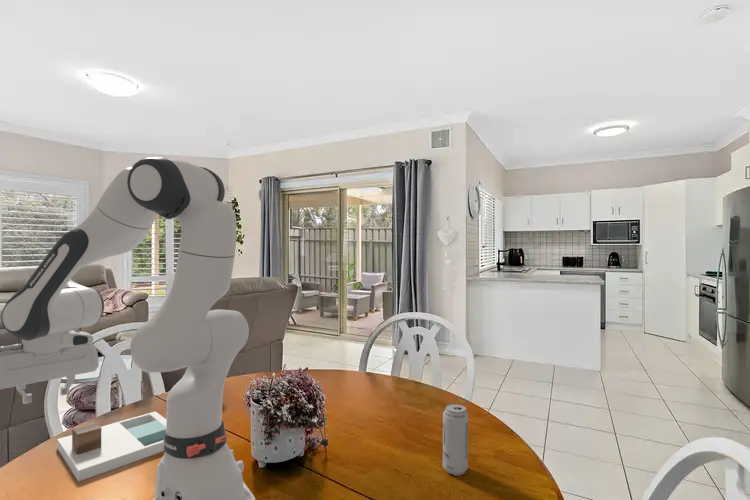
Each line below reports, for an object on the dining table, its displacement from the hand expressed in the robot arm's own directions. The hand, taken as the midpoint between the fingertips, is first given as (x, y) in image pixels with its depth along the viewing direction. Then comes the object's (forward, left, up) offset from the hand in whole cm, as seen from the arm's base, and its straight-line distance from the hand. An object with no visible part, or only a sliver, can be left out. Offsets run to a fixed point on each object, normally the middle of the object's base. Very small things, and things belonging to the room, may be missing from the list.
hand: (46, 398), depth 94 cm
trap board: (0, -16, -17) cm, 23 cm away
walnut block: (0, -8, -15) cm, 17 cm away
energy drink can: (-72, -66, -17) cm, 99 cm away
